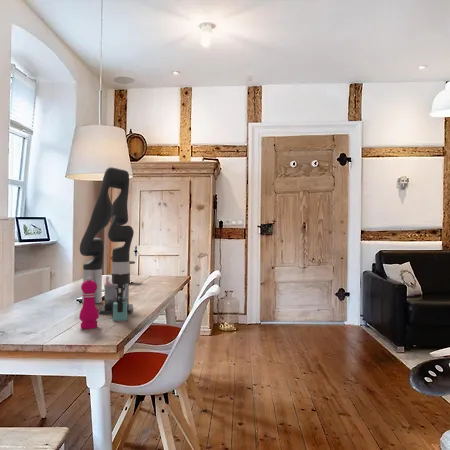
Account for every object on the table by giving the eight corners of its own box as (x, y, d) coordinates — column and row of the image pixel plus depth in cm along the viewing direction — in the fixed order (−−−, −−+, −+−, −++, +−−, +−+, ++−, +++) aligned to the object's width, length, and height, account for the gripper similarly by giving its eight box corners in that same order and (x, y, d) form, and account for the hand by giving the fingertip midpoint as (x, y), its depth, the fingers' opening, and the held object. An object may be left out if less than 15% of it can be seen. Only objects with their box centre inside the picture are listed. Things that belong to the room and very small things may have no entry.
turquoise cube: (112, 320, 174) (113, 304, 174) (114, 318, 179) (114, 302, 179) (126, 320, 175) (126, 304, 175) (127, 317, 180) (127, 301, 180)
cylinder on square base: (99, 314, 186) (99, 277, 186) (103, 307, 200) (103, 274, 200) (131, 313, 189) (131, 277, 189) (132, 307, 203) (132, 273, 203)
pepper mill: (87, 330, 159) (88, 278, 159) (75, 327, 163) (75, 276, 162) (102, 326, 165) (102, 276, 165) (90, 324, 169) (90, 274, 169)
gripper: (113, 270, 184) (113, 307, 184) (110, 274, 170) (110, 313, 170) (130, 270, 185) (130, 306, 185) (129, 273, 171) (129, 313, 171)
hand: (120, 310), depth 177 cm, fingers open, 8 cm apart
